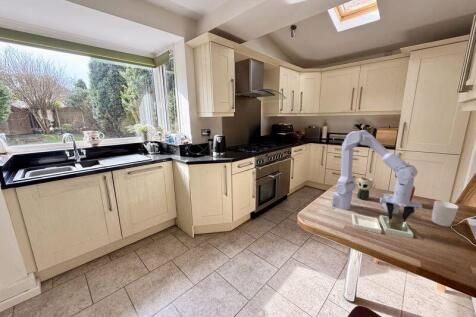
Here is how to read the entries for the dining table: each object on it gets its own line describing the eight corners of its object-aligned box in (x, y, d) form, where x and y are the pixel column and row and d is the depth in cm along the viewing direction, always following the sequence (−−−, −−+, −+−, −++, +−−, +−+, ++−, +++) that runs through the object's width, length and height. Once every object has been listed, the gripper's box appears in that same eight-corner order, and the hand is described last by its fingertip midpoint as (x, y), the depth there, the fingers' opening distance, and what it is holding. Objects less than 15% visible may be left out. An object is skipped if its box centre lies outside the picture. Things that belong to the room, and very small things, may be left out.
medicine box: (398, 215, 101) (401, 200, 99) (388, 214, 102) (391, 199, 100) (389, 207, 108) (392, 193, 106) (380, 207, 109) (383, 193, 107)
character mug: (350, 196, 123) (353, 177, 120) (357, 193, 126) (360, 175, 123) (368, 203, 114) (372, 182, 111) (375, 200, 117) (379, 180, 114)
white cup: (445, 219, 96) (451, 201, 94) (457, 228, 89) (463, 209, 87) (426, 217, 99) (430, 199, 96) (435, 225, 92) (441, 206, 89)
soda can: (413, 204, 111) (418, 185, 108) (407, 207, 109) (411, 187, 106) (401, 200, 117) (405, 182, 114) (394, 202, 115) (398, 183, 112)
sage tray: (384, 233, 86) (385, 228, 85) (379, 219, 97) (379, 215, 96) (412, 239, 82) (413, 234, 81) (402, 224, 93) (404, 219, 92)
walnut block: (390, 228, 88) (392, 217, 87) (388, 224, 92) (390, 212, 90) (401, 230, 87) (404, 219, 85) (398, 226, 90) (401, 214, 89)
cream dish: (353, 228, 90) (353, 224, 89) (351, 217, 99) (352, 213, 98) (380, 235, 85) (381, 230, 84) (376, 222, 94) (376, 218, 94)
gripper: (384, 192, 84) (379, 220, 88) (427, 199, 78) (420, 228, 82) (381, 187, 91) (376, 212, 94) (421, 192, 84) (414, 219, 88)
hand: (396, 219), depth 88 cm, fingers open, 4 cm apart
